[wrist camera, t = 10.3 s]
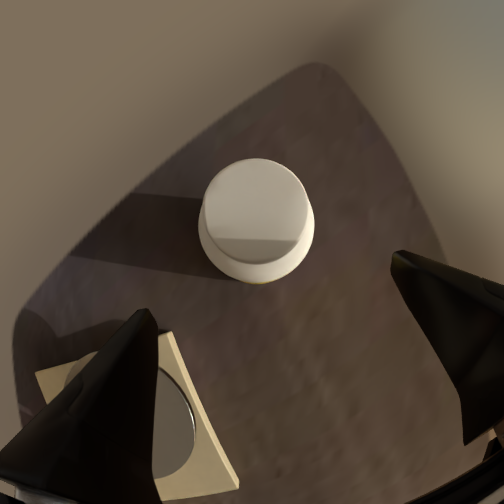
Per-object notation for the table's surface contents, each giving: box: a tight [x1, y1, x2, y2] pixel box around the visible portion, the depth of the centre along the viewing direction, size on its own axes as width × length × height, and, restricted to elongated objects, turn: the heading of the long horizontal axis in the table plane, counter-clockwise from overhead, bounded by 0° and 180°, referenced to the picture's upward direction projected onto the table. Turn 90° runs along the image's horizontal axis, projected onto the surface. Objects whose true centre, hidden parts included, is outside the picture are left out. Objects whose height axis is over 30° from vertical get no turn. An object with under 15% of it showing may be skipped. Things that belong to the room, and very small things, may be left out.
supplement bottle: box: [198, 158, 314, 284], centre depth 16 cm, size 5×5×10 cm
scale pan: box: [63, 351, 197, 479], centre depth 16 cm, size 10×10×1 cm
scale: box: [35, 331, 239, 501], centre depth 18 cm, size 14×14×3 cm
